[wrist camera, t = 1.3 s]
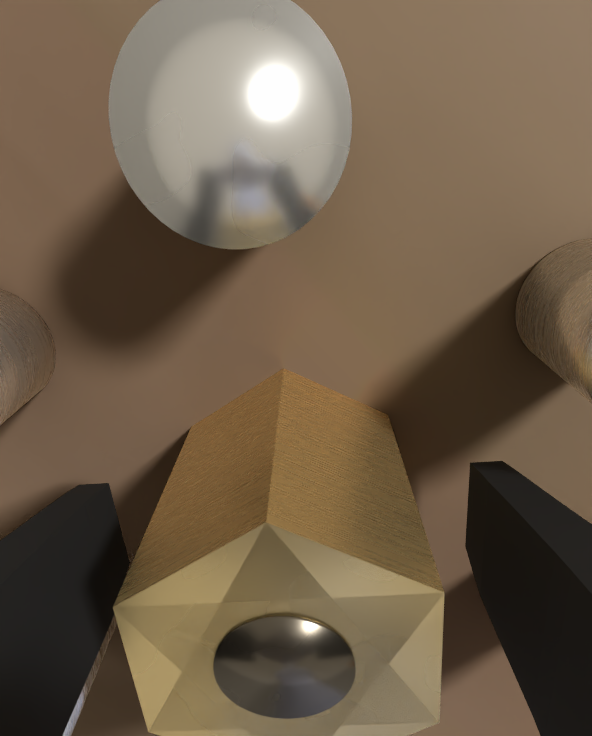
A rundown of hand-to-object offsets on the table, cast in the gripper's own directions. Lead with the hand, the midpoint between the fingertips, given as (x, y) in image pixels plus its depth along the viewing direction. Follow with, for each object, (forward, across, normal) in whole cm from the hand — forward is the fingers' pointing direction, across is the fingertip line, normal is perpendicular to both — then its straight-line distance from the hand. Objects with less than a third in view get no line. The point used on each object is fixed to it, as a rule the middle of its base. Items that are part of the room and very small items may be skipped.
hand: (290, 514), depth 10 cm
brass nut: (+2, 0, 0) cm, 2 cm away
